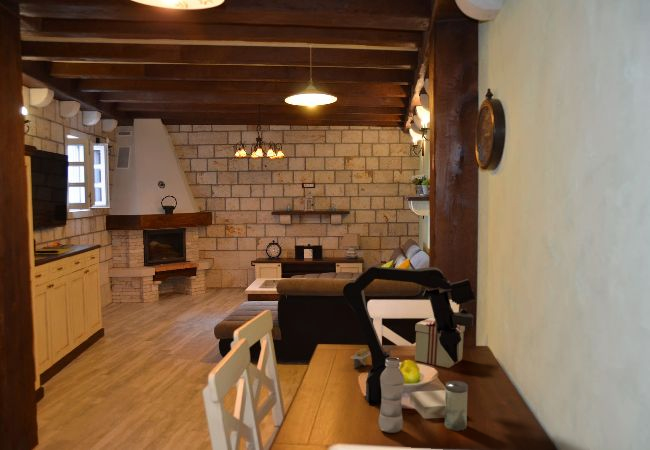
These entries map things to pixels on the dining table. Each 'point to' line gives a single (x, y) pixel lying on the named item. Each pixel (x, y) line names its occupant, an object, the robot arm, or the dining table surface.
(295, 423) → the dining table surface
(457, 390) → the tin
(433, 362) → the gift box
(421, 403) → the base block
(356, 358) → the open flap box
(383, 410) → the plastic bottle
